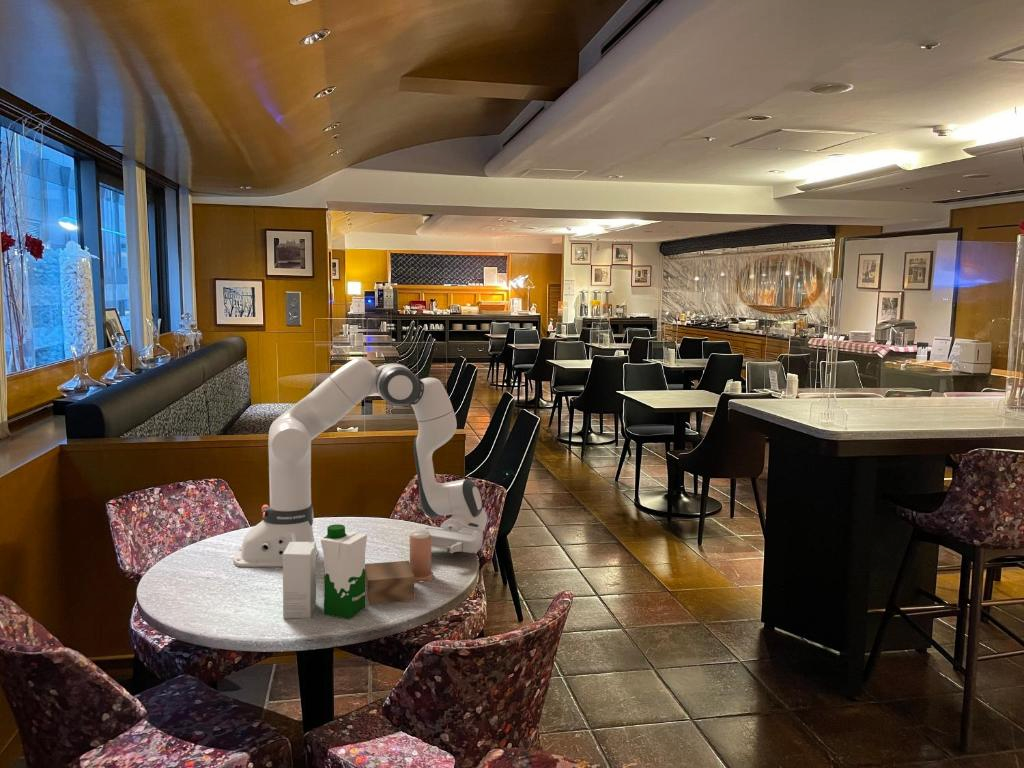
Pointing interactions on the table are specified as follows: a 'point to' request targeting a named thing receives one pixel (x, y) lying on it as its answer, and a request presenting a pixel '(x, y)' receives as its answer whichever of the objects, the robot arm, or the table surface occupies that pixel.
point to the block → (389, 582)
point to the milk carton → (344, 572)
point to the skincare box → (299, 580)
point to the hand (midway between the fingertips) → (433, 547)
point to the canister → (420, 555)
